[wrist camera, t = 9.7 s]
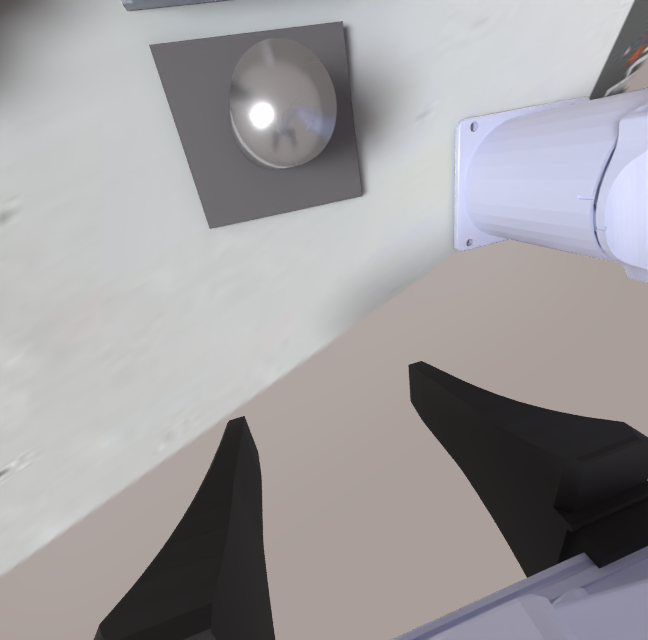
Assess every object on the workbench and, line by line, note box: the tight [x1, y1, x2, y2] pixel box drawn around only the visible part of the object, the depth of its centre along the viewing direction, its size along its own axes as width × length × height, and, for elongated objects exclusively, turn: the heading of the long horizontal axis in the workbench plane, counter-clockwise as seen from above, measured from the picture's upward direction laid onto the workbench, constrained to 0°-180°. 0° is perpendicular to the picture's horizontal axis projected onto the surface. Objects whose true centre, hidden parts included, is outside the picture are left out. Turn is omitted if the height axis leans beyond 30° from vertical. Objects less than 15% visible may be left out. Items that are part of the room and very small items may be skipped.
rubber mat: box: [149, 21, 362, 229], centre depth 16 cm, size 9×8×1 cm
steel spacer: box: [230, 38, 337, 170], centre depth 14 cm, size 4×4×5 cm
